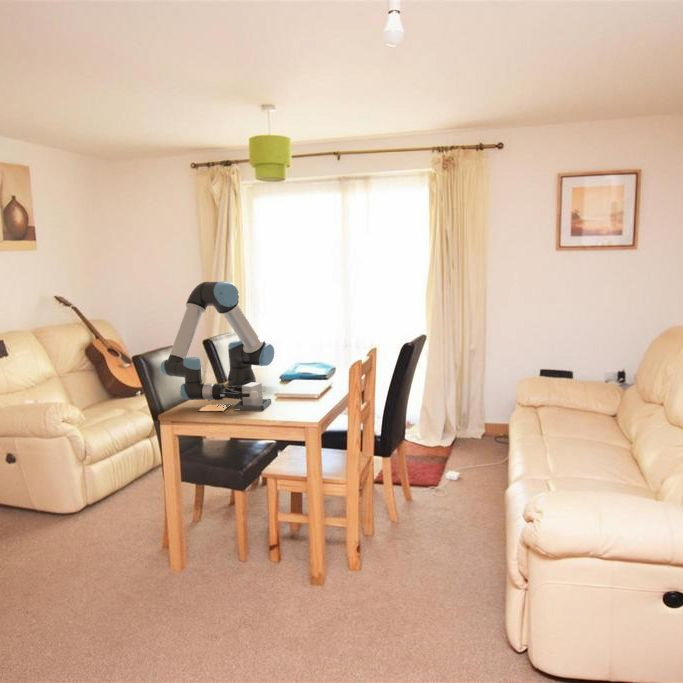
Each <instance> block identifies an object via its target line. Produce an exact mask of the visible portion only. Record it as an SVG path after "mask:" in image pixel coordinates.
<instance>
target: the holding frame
mask: <svg viewBox="0 0 683 683" xmlns="http://www.w3.org/2000/svg"><path fill="white" fill-rule="evenodd" d="M271 404H272V399H271V398H263V404H262V405H243V400H240V401H238V402H237V403H236V404H235V405H233V408H234V409H240V410H239V411H251V410H263V411H265V410H266V409H267V408H268V407H269V406H270V405H271ZM234 409H233V410H234ZM264 409H265V410H264Z"/></svg>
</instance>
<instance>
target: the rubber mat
mask: <svg viewBox="0 0 683 683" xmlns="http://www.w3.org/2000/svg"><path fill="white" fill-rule="evenodd" d="M216 404H218V406H219V405H220V404H221V405H223V404H224V405H226V407H228V406H229V405H231V404H232V403H220V402H219V403H217V402H216V403H215V405H216ZM221 405H220V406H221ZM224 405H223V406H224ZM218 406H217V407H218ZM231 406H232V405H231ZM223 408H224V407H223Z"/></svg>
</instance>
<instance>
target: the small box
mask: <svg viewBox="0 0 683 683" xmlns="http://www.w3.org/2000/svg"><path fill="white" fill-rule="evenodd" d="M262 384H263V383H262V382H257V381H256V382H251V383H248V384H246V385H243V386H242V393H243V392H257V395H258V398H243V405H262V404H263V399H264V398H263V392H262V386H263V385H262Z"/></svg>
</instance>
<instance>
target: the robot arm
mask: <svg viewBox="0 0 683 683" xmlns="http://www.w3.org/2000/svg"><path fill="white" fill-rule="evenodd" d="M239 292H240V291H239V290H238V288H237V286H236V285H235V284H234V283H232V282H229V281H203V282H201V283H199V284H198V285H196V287H195V288H194V289H193V290H192V291H191V293H190V294H189V296H188V298H187V301H186V303H185V306H186V310H185V312H184V315H183V317H182V321H181V323H180V325H179V329H178V331H177V334H176V336H175V339H174V342H173V345H172V348H171V350H170V353H169V356H168V359H164V360H163V361H162V362H161V364H160V367H159V368H160V371H161V373H162V374H163V376H169V377H175V378H176V377H179V378H184V383H183V384H181V386H180V391H179V394H180V397H181V398H182V399H183V400H190V401H196V400H198V401H201V400H202V401H208V402H210V401H213V400H215V401H222V400H224V399H230V400H231V399H233V400H240V401H241V400H243V398H258V395H257V392H243V393H242V386H243V385H246V384H248V383H251V382H256V383H257V379H256V375H255V372H254V371H253V368H252V367H253V366H259V367H268V366H270V365H271V364H272V362H273V360H274V357H275V348H274V345H272V344H270V343H266V342H265V340H264V338H263V337H262V336H259V335H258V334H257V332H256V331H255V330H254V328H253V326H252V324H251V323H250V321H249V320H248V319H247V317H246V315H245V314H244V312H243V311H242V309H241V308H240V305H239V302H240V301H239V299H240V296H239ZM208 307H213V308H214V309H215V310H216V311H217V313H218V314H220V315H223V316H224V318H225V319H226V321H227V323H228V324H229V325H230V327H231V329H232V330H233V332H234V333H235V335H236V336H237V338H238V339H239V340H234V341H231V342H229V343H228V350H227V352H228V361H229V362H228V363H229V372H228V376H227V378H226V379H227V382H226V383H227V385H229V386H227V387H226V386H225V385H224V383H220V382H219V383H218V382H217V383H215V382H214V383H213V382H212V383H211V382H210V383H208V382H207V383H203V376H202V365H201V359H200V358H199V357H196V356H194V357H193V356H191V357H188V353H189V351H190V348H191V345H192V342H193V340H194V338H195V337H194V336H195V334H196V331H197V328H198V325H199V323H200V320H201V317H202V314H204V313H205V312H206V310H207V308H208ZM265 392H266V387H265V385H262V393H265Z"/></svg>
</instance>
